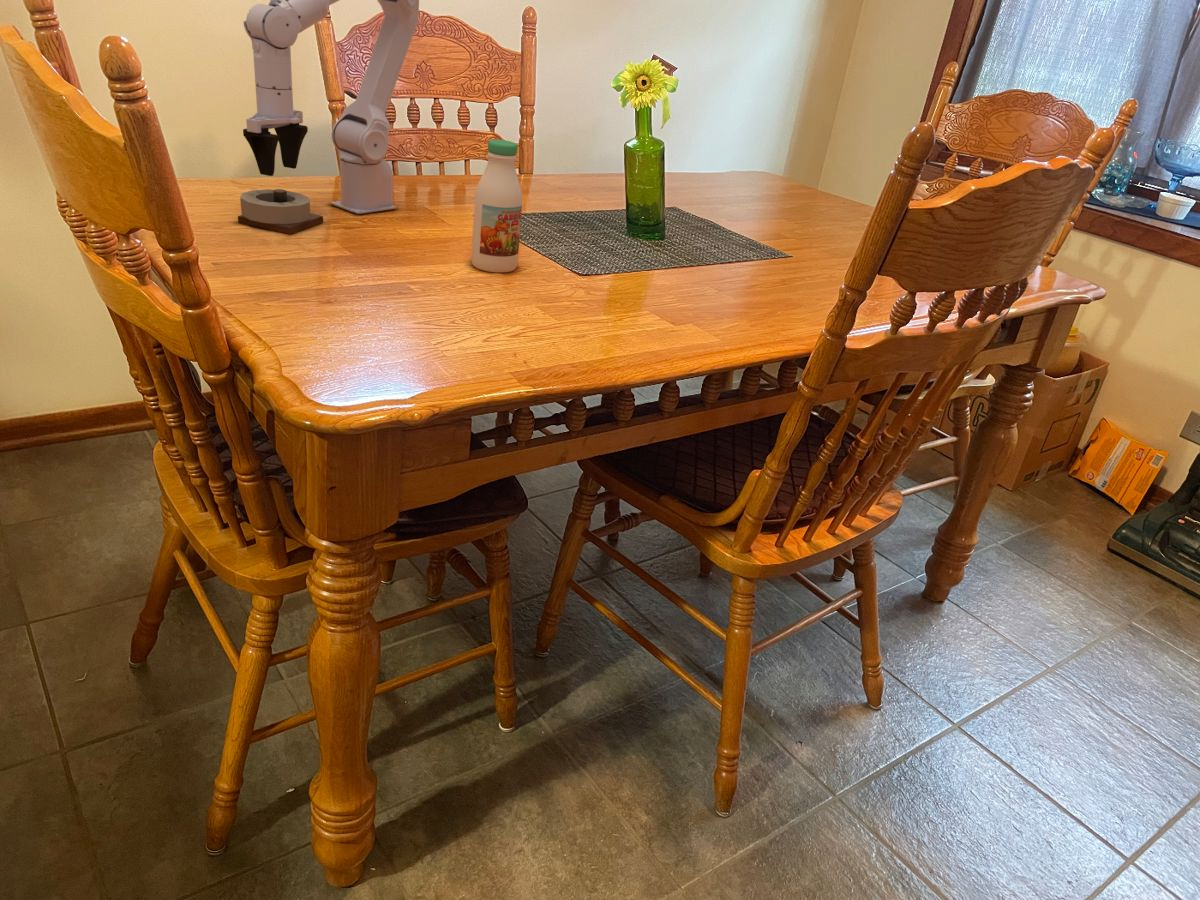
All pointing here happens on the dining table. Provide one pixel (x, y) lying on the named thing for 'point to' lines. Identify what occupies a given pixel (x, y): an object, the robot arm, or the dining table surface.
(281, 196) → the stand
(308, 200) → the tape roll
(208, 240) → the dining table surface
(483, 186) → the milk bottle
